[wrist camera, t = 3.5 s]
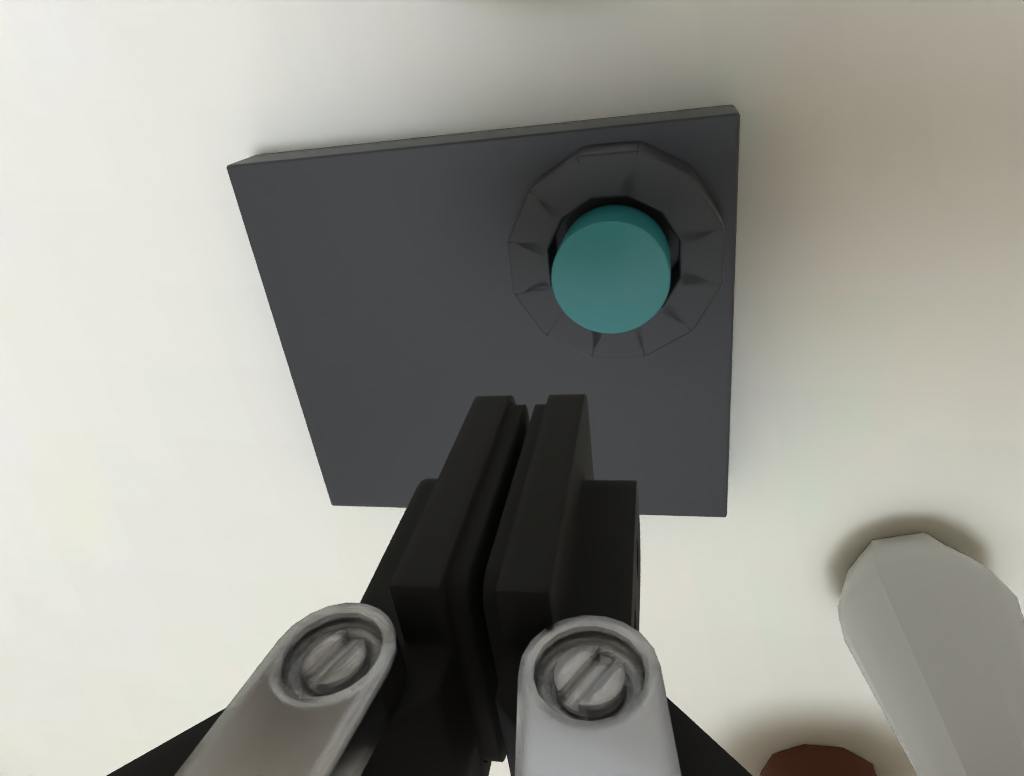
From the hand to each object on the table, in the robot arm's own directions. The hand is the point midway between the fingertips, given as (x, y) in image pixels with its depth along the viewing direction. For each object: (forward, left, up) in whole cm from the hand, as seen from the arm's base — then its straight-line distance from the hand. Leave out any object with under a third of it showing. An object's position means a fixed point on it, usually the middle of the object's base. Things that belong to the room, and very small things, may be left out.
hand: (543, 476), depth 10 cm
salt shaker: (-11, +15, -14) cm, 23 cm away
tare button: (0, 0, -11) cm, 11 cm away
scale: (+4, +4, -14) cm, 15 cm away
